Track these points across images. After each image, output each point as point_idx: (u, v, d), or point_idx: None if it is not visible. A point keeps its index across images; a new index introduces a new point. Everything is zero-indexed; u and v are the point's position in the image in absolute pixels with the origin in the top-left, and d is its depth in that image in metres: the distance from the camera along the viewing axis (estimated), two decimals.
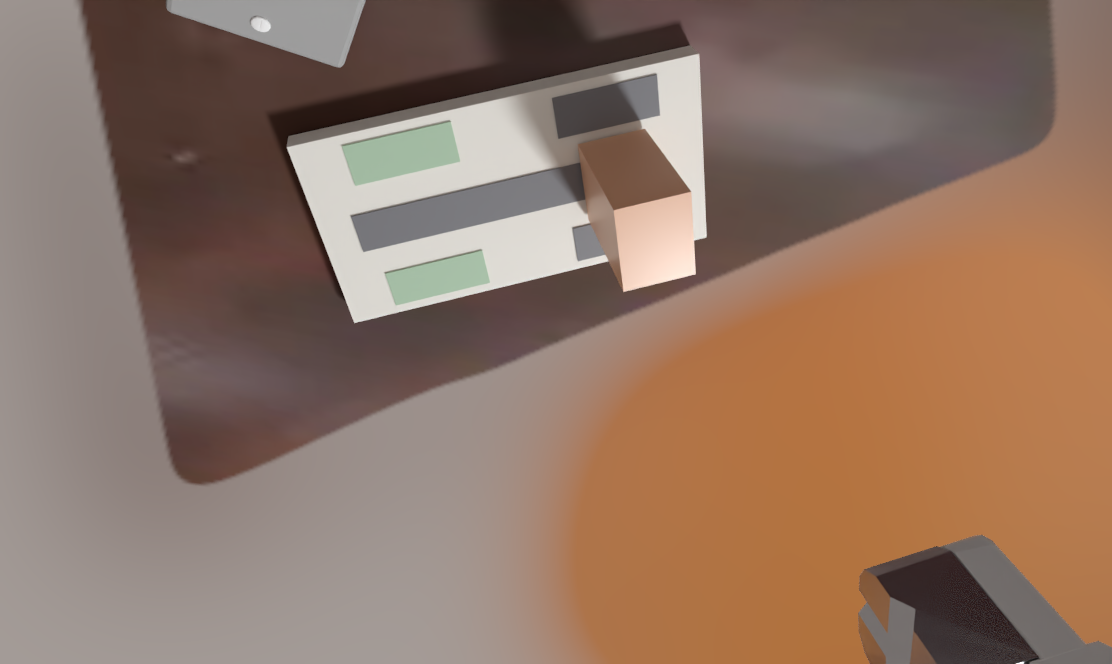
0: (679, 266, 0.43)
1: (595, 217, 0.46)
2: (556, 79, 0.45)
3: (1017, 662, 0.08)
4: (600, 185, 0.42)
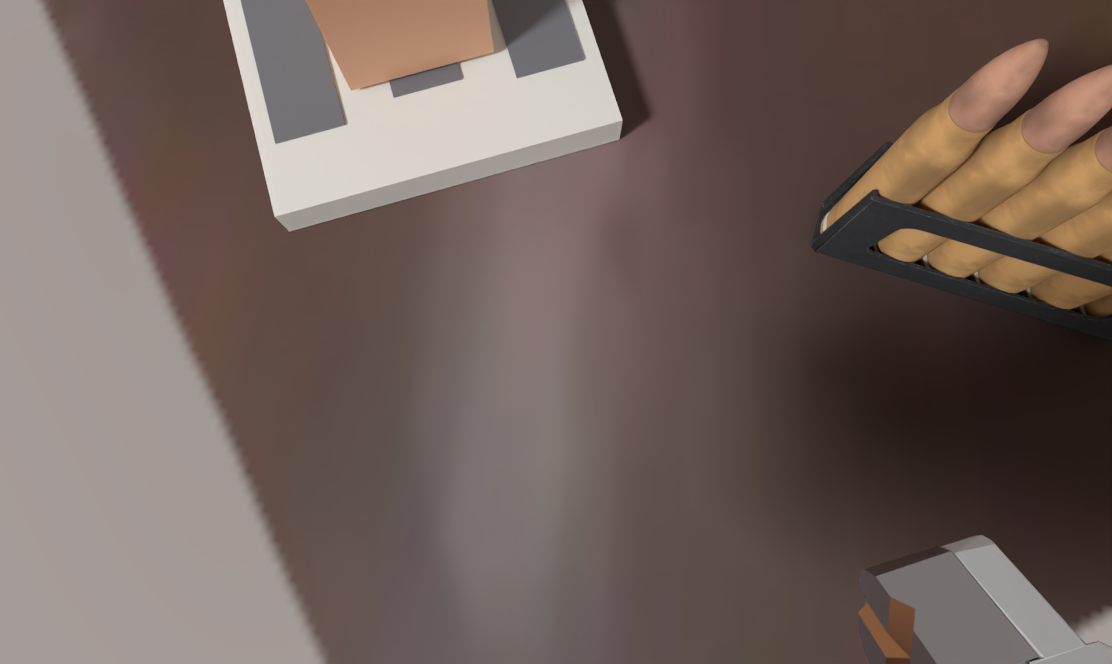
0: None
1: None
2: None
3: (1017, 662, 0.08)
4: None
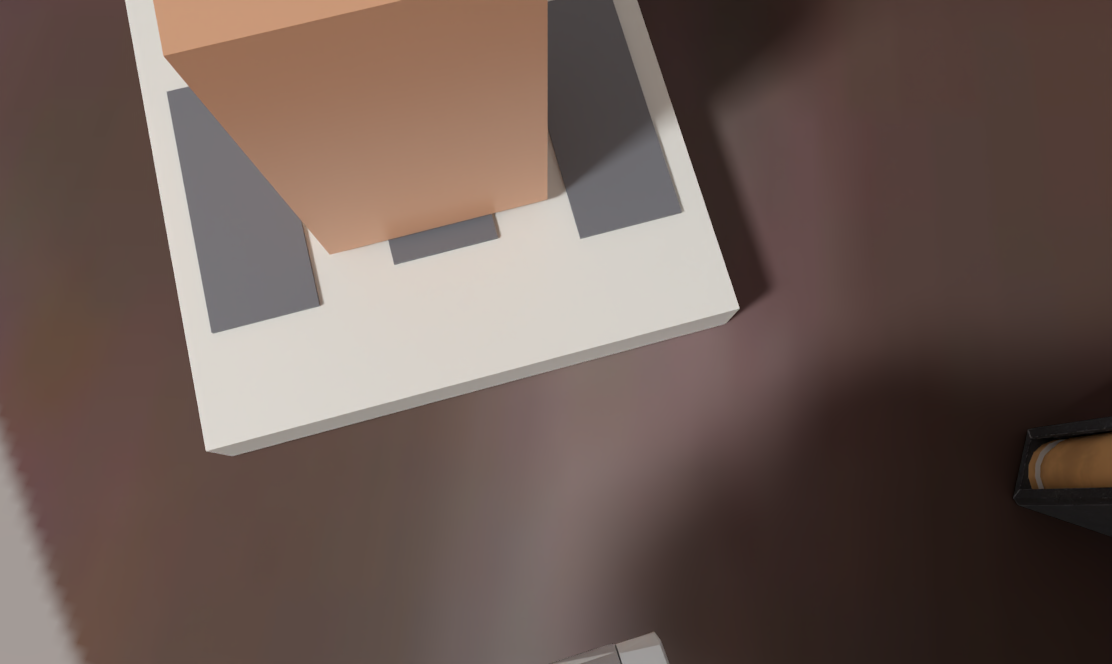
0: None
1: None
2: None
3: None
4: None
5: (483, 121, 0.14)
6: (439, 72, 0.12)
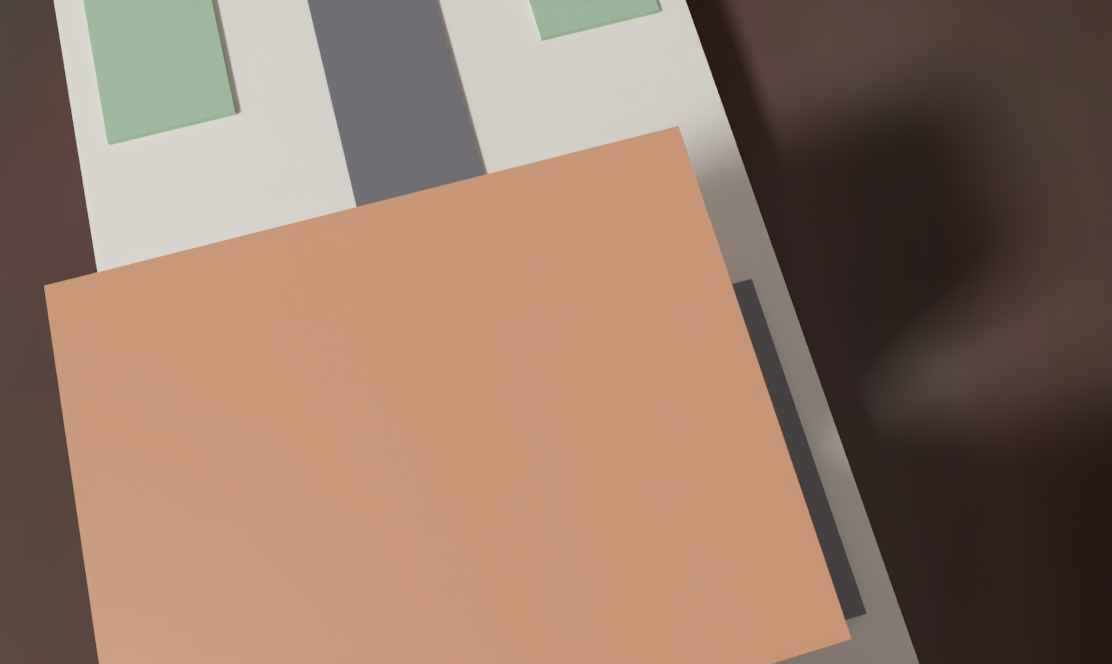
0: None
1: None
2: None
3: None
4: None
5: None
6: None
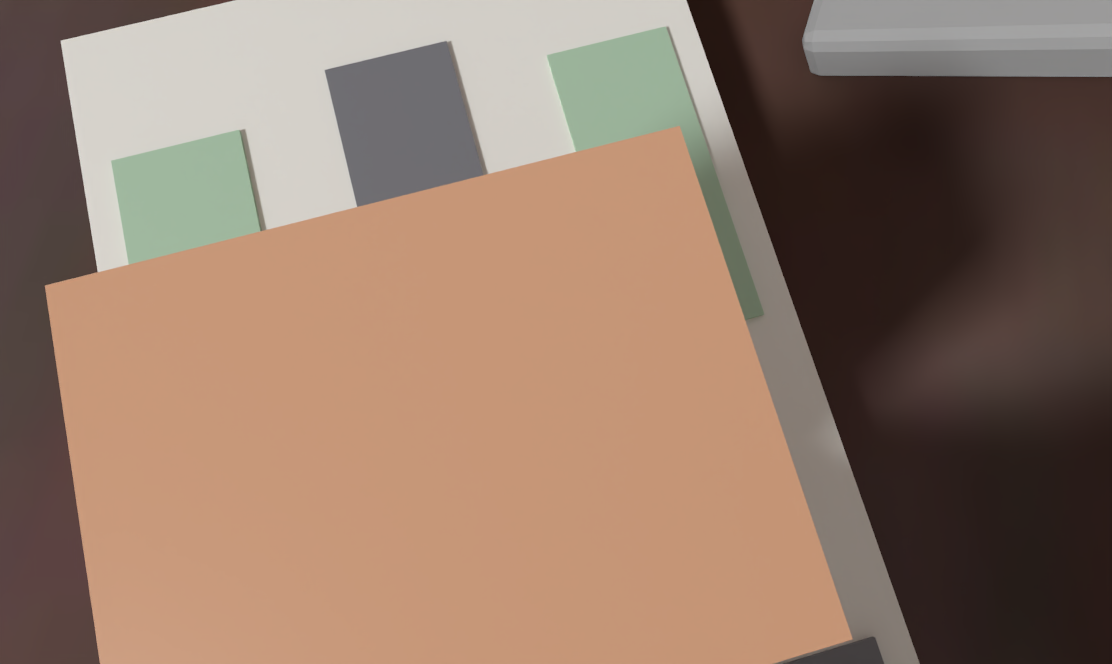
0: None
1: None
2: None
3: None
4: None
5: None
6: None
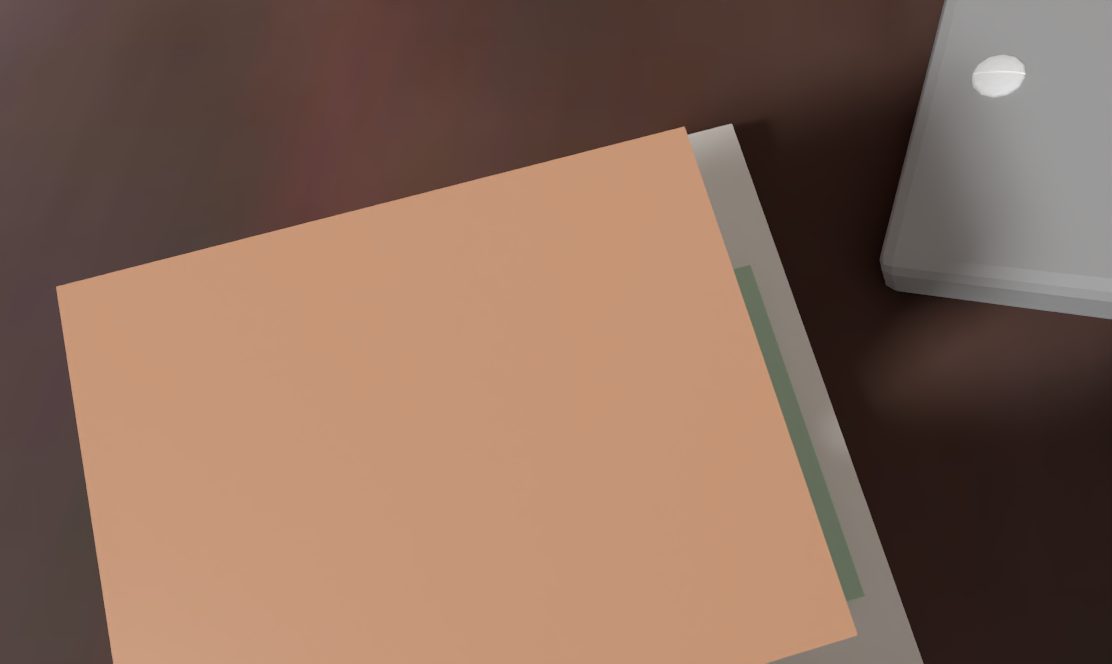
0: None
1: None
2: None
3: None
4: None
5: None
6: None
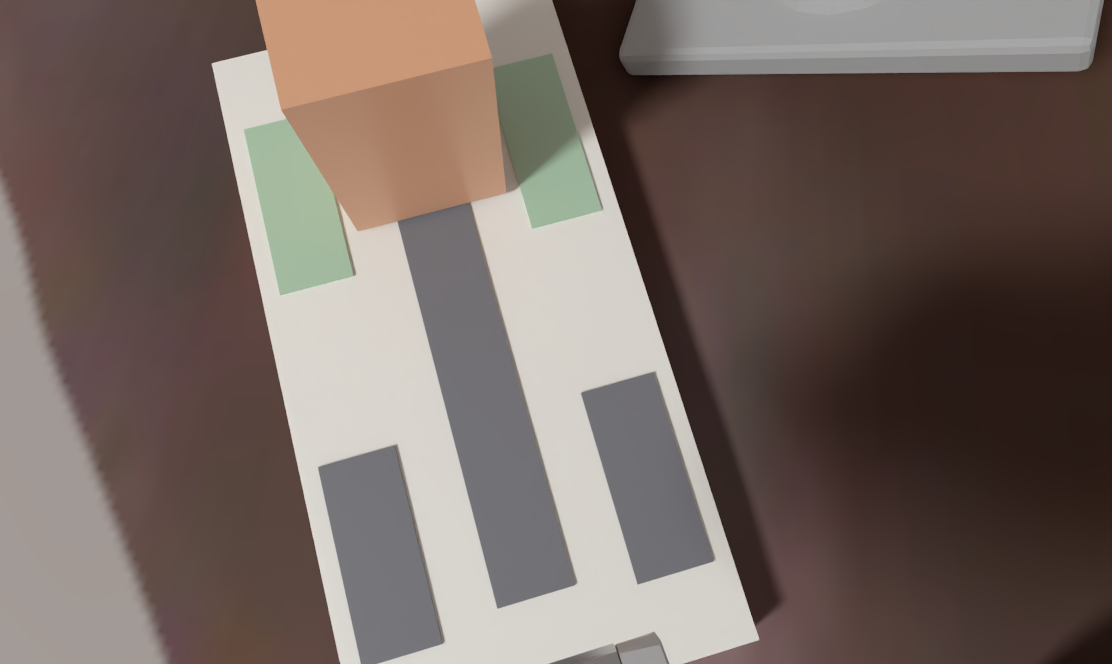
0: (304, 69, 0.19)
1: None
2: None
3: None
4: None
5: (459, 141, 0.23)
6: (432, 113, 0.21)
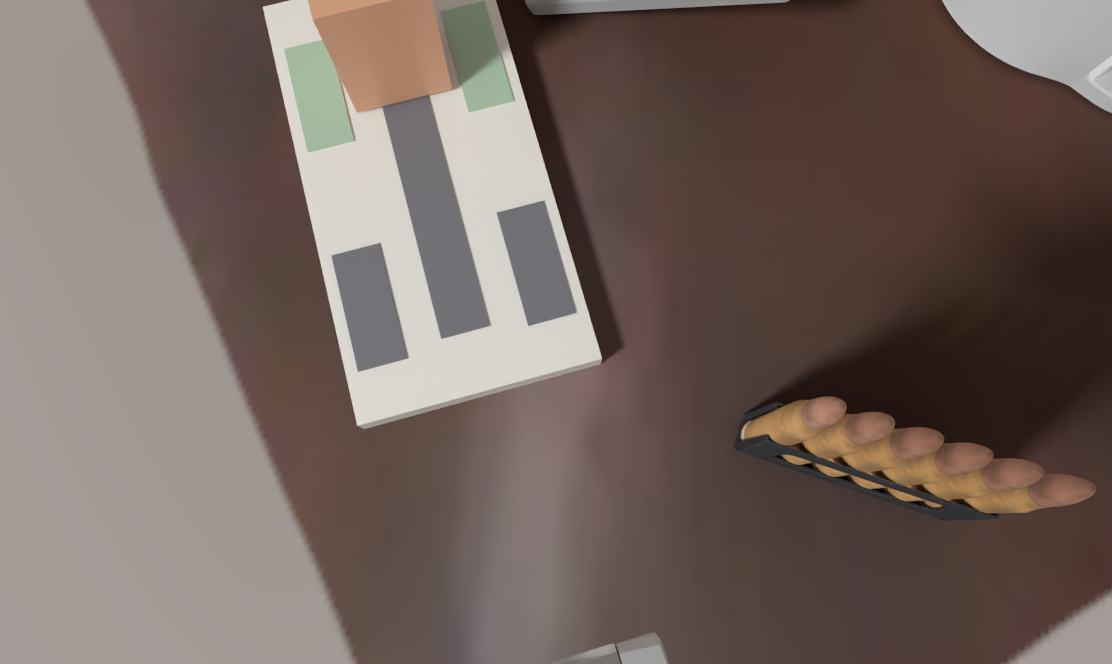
0: None
1: None
2: None
3: None
4: None
5: (416, 47, 0.37)
6: (398, 26, 0.36)
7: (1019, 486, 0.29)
